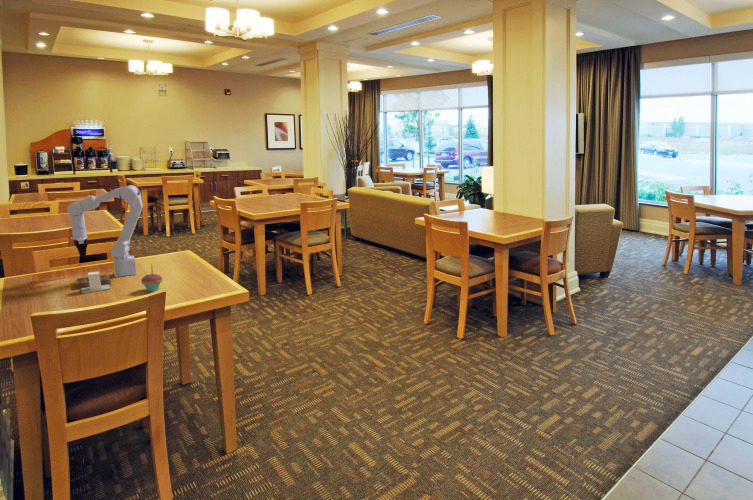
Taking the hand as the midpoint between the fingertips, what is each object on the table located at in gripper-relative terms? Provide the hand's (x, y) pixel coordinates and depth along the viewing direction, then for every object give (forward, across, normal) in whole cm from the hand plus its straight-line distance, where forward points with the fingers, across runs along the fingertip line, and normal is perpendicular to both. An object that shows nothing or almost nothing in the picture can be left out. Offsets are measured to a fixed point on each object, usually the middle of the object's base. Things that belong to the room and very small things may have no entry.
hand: (82, 255), depth 246 cm
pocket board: (+10, +16, +2) cm, 20 cm away
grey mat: (+10, +26, +2) cm, 28 cm away
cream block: (+10, +26, +2) cm, 28 cm away
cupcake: (+11, +40, +24) cm, 48 cm away
